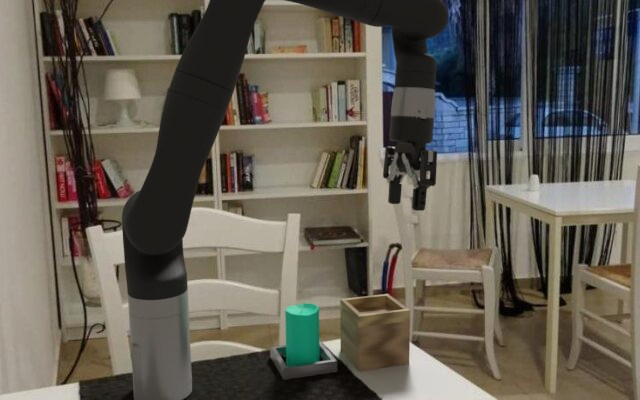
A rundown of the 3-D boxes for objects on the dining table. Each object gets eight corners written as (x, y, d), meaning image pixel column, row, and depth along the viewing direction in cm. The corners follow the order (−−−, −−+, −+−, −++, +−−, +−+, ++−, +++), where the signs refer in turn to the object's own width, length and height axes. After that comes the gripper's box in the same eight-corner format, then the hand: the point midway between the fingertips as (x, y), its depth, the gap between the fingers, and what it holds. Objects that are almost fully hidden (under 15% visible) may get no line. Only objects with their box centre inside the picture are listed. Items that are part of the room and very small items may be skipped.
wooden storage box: (359, 371, 109) (359, 316, 108) (340, 350, 118) (340, 299, 117) (409, 363, 112) (410, 310, 111) (387, 343, 121) (387, 293, 120)
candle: (321, 358, 115) (320, 295, 113) (317, 372, 109) (317, 306, 107) (288, 357, 116) (287, 294, 114) (283, 371, 110) (282, 305, 108)
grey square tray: (283, 379, 106) (283, 368, 106) (270, 357, 115) (270, 347, 115) (337, 371, 109) (337, 360, 109) (320, 350, 118) (320, 340, 118)
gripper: (374, 113, 115) (369, 201, 117) (415, 113, 102) (407, 212, 104) (410, 116, 118) (404, 202, 120) (454, 116, 105) (446, 212, 107)
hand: (405, 206), depth 112 cm, fingers open, 8 cm apart
